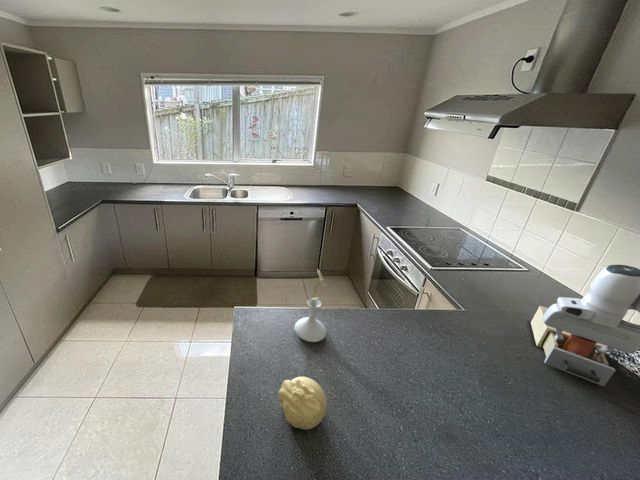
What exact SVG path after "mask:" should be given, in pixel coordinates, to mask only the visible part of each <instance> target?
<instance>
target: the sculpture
mask: <svg viewBox="0 0 640 480" xmlns="http://www.w3.org/2000/svg"><path fill="white" fill-rule="evenodd" d="M277 398H278V402H279V403H280V404H281V405H280V406H281V408H282V411H283V414H284V416H285V419H286V421H287V423H288V424H290V425H291V426H292V427H294V428H295V429H297V428H298V429H300V430H311V429H314V428H316V427H317V426H318V425H319V424H320V423H321V422H322V420H323V419H324V417H325V415H326V412H327V398H326V394H325V392H324V389H323V388H322V387H321V386H320V384H319V382H317V381H315V379H313V378H311V377H307V376H296V377H294V378H292V379H285V380H284V381H283V382H282V384H281V386H280V389H279V391H278V397H277Z"/></svg>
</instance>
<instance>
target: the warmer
mask: <svg viewBox="0 0 640 480" xmlns="http://www.w3.org/2000/svg"><path fill="white" fill-rule="evenodd" d="M548 308H549V307H546V306H543V305H539V306H538V308H537V310H536V312H535V314H534V316H533V317H532V319H531V321H530V325H531V330H532V334H533V337H534V342H535V345H536V347H537V348H540V349H543V350H544V348H543V344H542V342H543V340H544V338H545V337H546V335H547V333H548V331H552V332H555V333H556V331H555V328H553V327H550V326H547V325H545V323H544V322H543V315H544V313H545V312H546V311H547V309H548ZM559 334H561V335H564V336H566V337H569V336H570V334H571V333H568V332H565V331H562V333H560V332H559ZM595 346H596V347H599V348H602V347H605V345H603V344H600V343H597V344H596V345H595ZM605 355H606V353H605V354H604V356H605Z"/></svg>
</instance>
